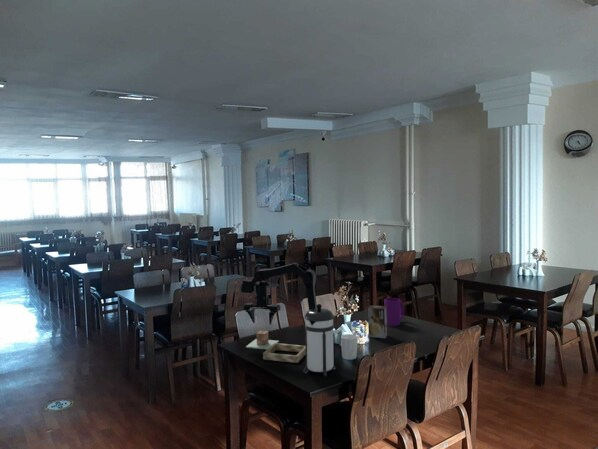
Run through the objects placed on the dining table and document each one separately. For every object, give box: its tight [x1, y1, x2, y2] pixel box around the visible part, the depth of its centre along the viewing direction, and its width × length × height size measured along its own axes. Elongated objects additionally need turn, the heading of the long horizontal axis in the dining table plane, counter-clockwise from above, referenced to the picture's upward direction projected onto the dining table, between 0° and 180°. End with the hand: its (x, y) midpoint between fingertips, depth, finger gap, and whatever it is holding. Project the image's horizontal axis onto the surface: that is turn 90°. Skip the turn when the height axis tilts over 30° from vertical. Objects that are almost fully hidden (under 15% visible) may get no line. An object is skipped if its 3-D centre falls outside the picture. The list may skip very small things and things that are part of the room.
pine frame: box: [262, 342, 306, 364], centre depth 228 cm, size 17×15×3 cm
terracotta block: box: [256, 330, 269, 345], centre depth 245 cm, size 4×5×6 cm
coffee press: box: [303, 303, 337, 378], centre depth 208 cm, size 17×16×30 cm
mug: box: [383, 297, 405, 327], centre depth 280 cm, size 9×16×15 cm, turn 134°
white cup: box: [340, 333, 359, 361], centre depth 224 cm, size 8×8×10 cm
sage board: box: [245, 338, 280, 351], centre depth 245 cm, size 13×13×1 cm
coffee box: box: [367, 305, 388, 339], centre depth 256 cm, size 9×6×16 cm
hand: (262, 323), depth 244 cm, fingers open, 9 cm apart
